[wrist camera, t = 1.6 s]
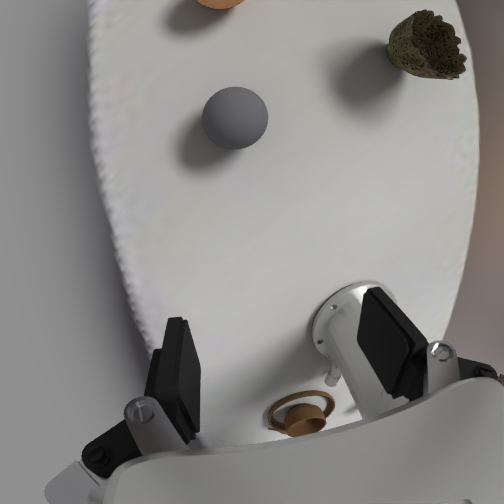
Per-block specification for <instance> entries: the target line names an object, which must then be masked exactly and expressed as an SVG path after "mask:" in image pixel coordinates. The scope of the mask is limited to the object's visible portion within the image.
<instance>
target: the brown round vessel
mask: <svg viewBox="0 0 504 504" xmlns="http://www.w3.org/2000/svg"><path fill="white" fill-rule="evenodd" d="M442 20H443V18H442V16H441V15H438V16H434V12H433V11H429V10H428V11H427V10H422V11H417V13H416V12H415V13H414V14H412V15H411V16H409V17H408V18H406V19H405V20H404V21H402V22H401V23H399V24H398V25H397V26H396V27H395V28H394V29H393V31H392V32H391V34H390V38H389V44H388V46H387V55H388V57H389V59H390V61H391V62H392V63H393V64H394V65H396V66H397V67H399V68H402V69H404V70H405V71H406V72H408V73H410V74H412V75H414V76H418V77H423V78H435V79H448V80H453V78H460V77H459V74H462V73H463V72H465V71H466V68H465V66H464V64H463V63H464V62H465V61H466V60H467V58H466V56H465V55H464V54H461V55H460V54H459V50H460V49H458V47H457V45H458V44H461V39H460V38H459V37H456V36H455V30H454V28H453V26H452V25H450V24H448V23H446V22H443V21H442Z"/></svg>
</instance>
